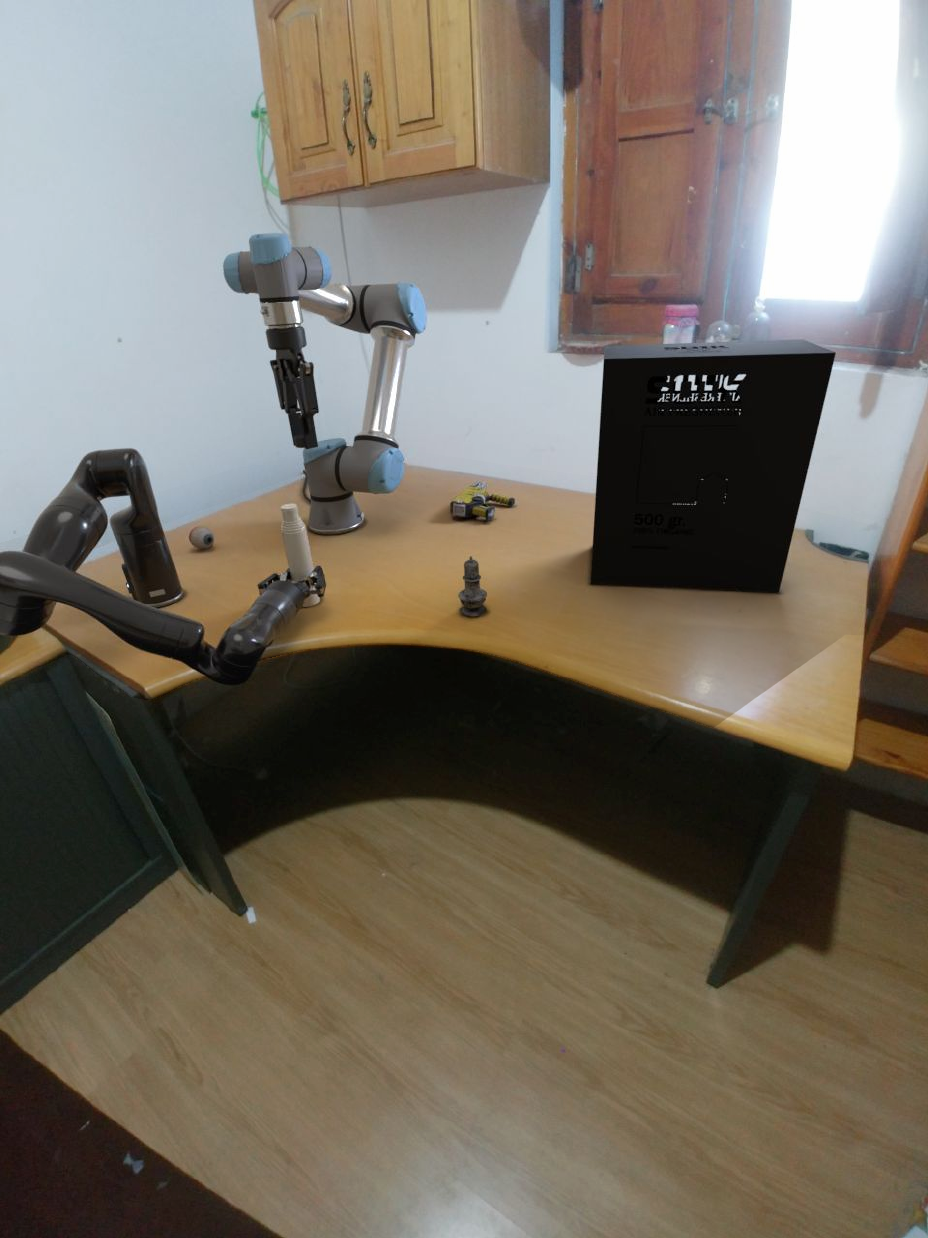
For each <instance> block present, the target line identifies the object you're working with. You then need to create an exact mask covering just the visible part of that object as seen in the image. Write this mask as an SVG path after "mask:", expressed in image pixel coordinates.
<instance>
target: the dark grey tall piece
mask: <svg viewBox="0 0 928 1238" xmlns="http://www.w3.org/2000/svg"><path fill="white" fill-rule="evenodd" d="M463 572H464V574H463V576H462V579H463V583H464V588H463V589H462V590H461V591H459V592H458V594H457V596H458V597H457V598H458V599H459V601H460V603H461V605H462V606H461V608H460V613H461V615H463V616H466V617H479V616H482V615H484V614H486V612H487V607H486V606H485V605H484V604H485V602H486V601H487V597H488V591H486V590H485V589H483V588H481V581H480V580H482V575H480V567H479V562H478V561H477V560H475V559H473V556H472V555H469V557H468V559H467V560H465V561H464V563H463Z"/></svg>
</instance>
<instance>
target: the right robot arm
mask: <svg viewBox="0 0 928 1238" xmlns="http://www.w3.org/2000/svg"><path fill="white" fill-rule="evenodd" d="M248 245H249V246H248V247H249V250H247V251H243V250H240V251H238V252H237V251H236V252H232V253H228V254H227V255H226V256H225V258H224V260H223V263H222V264H223V265H222V268H223V269H222V270H223V276H224V280H225V282H226V284H227V285H228V287H229V288H230V289H231V290H232V291H233V292H235V293H237V294H244V295H249V294H257V295H258V298H259V303H260V314H261V315H262V320H263V324H264V326H266V327H267V328H266V330H265V337H266V342H267V346H268V348H269V350H271V351H275V359H271V360H269V364H270V368H271V370H272V373H273V377H274V384H275V387H276V393H277V397H278V402H279V408H280V409H281V410H282V411H284V412H285V413H286V414H287V417H288V422H289V428H290V433H291V438H292V444H293V447H295V442H294V436H295V435H299V434H303V438H304V444H305V448H303V450H302V457H303V459H302V460H303V467H304V469H302V473H303V474H304V476H305V478H304V482H303V486H302V495H303V497H304V498H305V500H306V501H308V502H309V503H310V507H309V513H308V528H309V529H308V530H310V531H311V532H312V533H314V534H317V535H323V536H324V535H325V536H327V535H329V536H331V535H339V534H340V535H341V534H345V533H350V532H353V531H355V530H357V529H359V528H361V527H362V526H363V525H364V523H365V519H364V518H365V513H364V512H363V511H362V510H361V508H360V505H359V504H358V501H357V500H356V498H355V495H354V493H363V494H365V493H366V494H372V495H381V494H382V495H386V494H387V495H388V494H391V493H393V492H395V491H396V489H398V487H400V485H401V482H402V481H403V478H404V475H405V469H406V468H405V466H406V463H405V456H404V453H403V452H402V450H400V449H399V447H400V444H399V443H398V441H397V440H396V438H395V436H396V428H397V422H398V421H397V420H398V416H399V415H398V414H399V408H400V401H401V395H402V389H403V381H404V375H405V367H406V361H407V355H408V350H409V349H410V348H411V347H413V346H414V345H415V340H416V336H417V335H420V334H422V333H424V331H425V330H426V327H427V323H428V322H427V321H428V320H427V318H428V317H427V308H426V307H427V306H426V304H425V299H424V296H423V294H422V292H421V290H420V288H419V287H418V286H417V285H416V284H414V283H411V282H397V283H379V284H361V285H345V284H342V283H339V282H335V283H330V282H331V279H332V277H333V276H332V275H333V266H332V262H331V260H330V257H329V256H328V255H327V253H326V252H324V250H322V249H320V248H317V247H313V246H292V244H291V240H290V237H289V236H288V234H286V233H284V232H283V233H282V232H267V233H255V234H252V235H251V236H250V237H249V239H248ZM302 310H304V311H306V312H309V313H313V314H316V315H319V316H321V317H324V319H325V320H326V321H327V322H328V323H329V324H332V325H335V326H336V327H337V326H338V327H341V328H344V329H346V330H349V331H352V332H356V333H359V334H364V335H365V334H366V335H370V337H371V339H373V341H374V345H373V350H372V356H371V357H372V358H371V364H370V370H369V378H368V385H367V391H366V397H365V404H364V411H363V417H362V423H361V424H362V425H361V430H360V432H358V433H356V434H355V435H354V437H353V444H352V445H347V441H346V439H345V438H342V437H335V438H328V439H323V440H320V441H318V437H317V431H316V425H315V419H314V418H315V417H314V416H315V415H316V414H319V413H320V410H319V409H320V408H319V404H318V403H319V402H318V396H317V389H316V382H315V375H314V373H315V372H314V371H315V370H314V369H315V364H314V363H313V362H312V361H309V362H307V360H306V359H305V356H304V353H303V349H304V348H306V347H307V345H308V343H307V337H306V330H305V328H304V327H303V326H302V324H303V323H304V317H303V313H302ZM307 486H308V492H309V497H308V495H307V494H306V493H307V492H306V487H307Z"/></svg>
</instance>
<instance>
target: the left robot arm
mask: <svg viewBox="0 0 928 1238" xmlns="http://www.w3.org/2000/svg"><path fill="white" fill-rule="evenodd" d="M150 478H151V477H150V475H149V471H148V467H147V464H146V462H145V460H144V457H143V456H142V454H141V453H140V452H139V451H138V450H137V449H135V448H133V447H121V448H108V449H97V450H93V451H90V452H88V453H87V454H85V455H84V456H83V457H82V459H80V462H79V463H78V465H77V467H76V469H75V471H74V472H73V474H72V476H71V477H70V479H69V481H68V482H67V483H66V484H65V485H64V487H63V488H62V489H61V490H60V492H59V493H58V495H57V496H56V497H55V498H54V499H53V500H51V502H50V503H49V504H48V505H47V506H46V507H45V508H44V509H43V511H41V513H40V514H39V515H38V517H37V518H36V520H35V522H34V524H33V525H32V528H31V530H30V532H29V534H28V537H27V539H26V540H25V543H24V545H23V548H22V551H21V550H3V551H0V635H2V636H7V637H16V636H17V637H19V636H25V635H28V634H32V633H34V632H36V631H38V630H40V629H41V628H42V627H44V626H45V625H46V624H47V623H48V622H49V621H50V620H51V618H52V616H53V614H54V610H55V608H56V605H57V603H59V604H63V605H66V606H69V607H72V608H74V609H76V610H79V611H81V612H83V613H85V614H87V615H88V616H90V617H91V618H93V619H94V620H96V621H98V622H99V623H100V624H101V625H103V626H104V627H105V628H106V629H108V630H109V631H110V632H111V633H112V634H114V635H116V637H118V638H119V639H120V640H122V641H123V642H125V643H126V644H128V645H129V646H131V647H133V648H135V649H137V650H140V651H142V652H145V653H148V654H152V655H155V656H159V657H163V658H166V659H169V660H173V661H177V662H180V663H182V664H184V665H185V666H187V667H189V668H190V669H192V670H194V671H195V672H197V673H199V674H201V675H203V676H205V677H206V678H208V679H210V680H211V681H214V682H216V683H218V684H220V685H225V686H239V685H242V684H244V683H246V682H247V681H249V679H250V678H251V676H252V675H253V673H254V671H255V669H256V667H257V666H258V663H259V661H260V660H261V658H262V656H263V654H264V653H265V651H266V649H267V648H268V647H270V646H272V645H273V644H274V642H275V641H276V640H277V639H278V637H279V636H280V635H281V633H282V632H283V631H284V630H285V629H286V628H288V627H289V625H290V624H291V623H292V621H293V620H294V618H296V616H297V614H298V613H299V612H300V611H301V609H302V608H303V607H302V605H303V602H304V600H305V599H306V598H308V597H309V596H310V595H311V594H318V597H320V598H323V597H324V596H325V593H326V588H327V582H326V577H325V576H326V575H325V574H324V570H323V567H322V566H321V565H316V566H315V567H314V570H313V571H312V573H311V574H309V575H308V576H307V575H304V576H302V577H301V578H299V579H297V580H292V579H291V575H290V570H289V567H288V568H287V569H286V570H285V571H284V572H281V573H280V574H278V573H277V572H275V573H271V574H270V575H269V576H268V577H266V578H264V579H263V580H261V581H260V582H259V583H258V584H257V588H258V593H259V596H258V597H257V598H256V599H255V600H254V602H253V603H252V605H251V606H250V608H249V609H248V610H247V611H246V612H245V614H243V616H242V617H241V618H238V620H236V621H234V622H233V623H231V624H230V625H229V626H228V627H227V629H226V630H225V631H224V632H223V634H222V635H221V637H220V639H219V641H218V644H217V646H213V645H211V644H210V643H209V642H207V641H206V640H205V634H206V633H205V626H204V625H203V624H202V623H201V622H200V621H197V620H195V619H192V618H189V617H186V616H182V615H180V614H176V613H174V612H170V611H167V610H164V609H161V608H163V607H166V606H170V605H172V604H174V603H176V602H178V601H179V600H181V599H182V598H183V597H184V594H185V591H184V588H183V586H182V584H181V581H180V578H179V574H178V571H177V568H176V566H175V565H176V564H175V562H174V560H173V556H172V553H171V550H170V546H169V544H168V541H167V537H166V534H165V532H164V528H163V525H162V522H161V519H160V516H159V509H158V505H157V501H156V498H155V494H154V491H153V487H152V483H151V479H150ZM115 497H116V498H117V497H129V499H130V505H129V506H127V507H125V508H122V509H121V510H119V511H116V512H115V513H113V514H112V515H111V516H110V517H108V513H107V510H106V508H105V507H104V505H103V503H102V502H101V501H102V500H104V499H109V498H115ZM108 518H109V519H108ZM108 524H109V525H110V528H111V531H112V532H113V536H114V539H115V541H116V544H117V546H118V549H119V553H120V556H121V558H122V559H123V560H122V561H123V563H122V564H121V566H120V567H121V569H122V572H123V575H124V578H125V580H126V583H125V585H126V589H127V591H128V593H129V594H130V595H131V597H132V598H131V597H129V596H127V595H125V594H122V593H120V592H118V591H116V590H114V589H112V588H110V587H108V586H106V585H104V584H102V583H100V582H98V581H96V580H93V579H91V578H89V577H87V576H86V575H83V574H81V573H79V572H77V571H78V570H79V569H80V568H81V566H82V565H83V564H84V562H85V561H86V559H87V558H88V557H89V556H90V554H91V553H92V552H93V550H94V549H95V548H96V546H97V545H98V544H99V542H100V540H101V539H102V538H103V536H104V535H105V533H106V530H107V529H108ZM311 579H312V582H311Z"/></svg>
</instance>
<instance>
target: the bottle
mask: <svg viewBox="0 0 928 1238" xmlns="http://www.w3.org/2000/svg"><path fill="white" fill-rule="evenodd" d="M280 512H281V515H282V520H281V521H282V522H281V527H280V533H281V537H282V542H283V547H284V552H285V556H286V561H287V565H288V568H289V570H290V575H291V579H292V580H297V579H299V578H301V577H302V576H304V575H307V576H308V575H309V574H311V573H312V571H313V570H314V569H315V567H314V562H313V561H314V560H313V556H312V552H311V547H310V541H309V535H308V531H307V526H306V524H305V523H304V521H303V519H302V518H301V516H300V514H299V510H298V505H297V504H296V503H286V504H283V505H281V506H280ZM311 582H312V579H311ZM320 601H321V597H318V594H311V595H310V596H309V597H308V598H306V599H305V600H304V602H303V605H302V607H301V608H309V607H313V606H316V605H317V604H318V603H320Z"/></svg>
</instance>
